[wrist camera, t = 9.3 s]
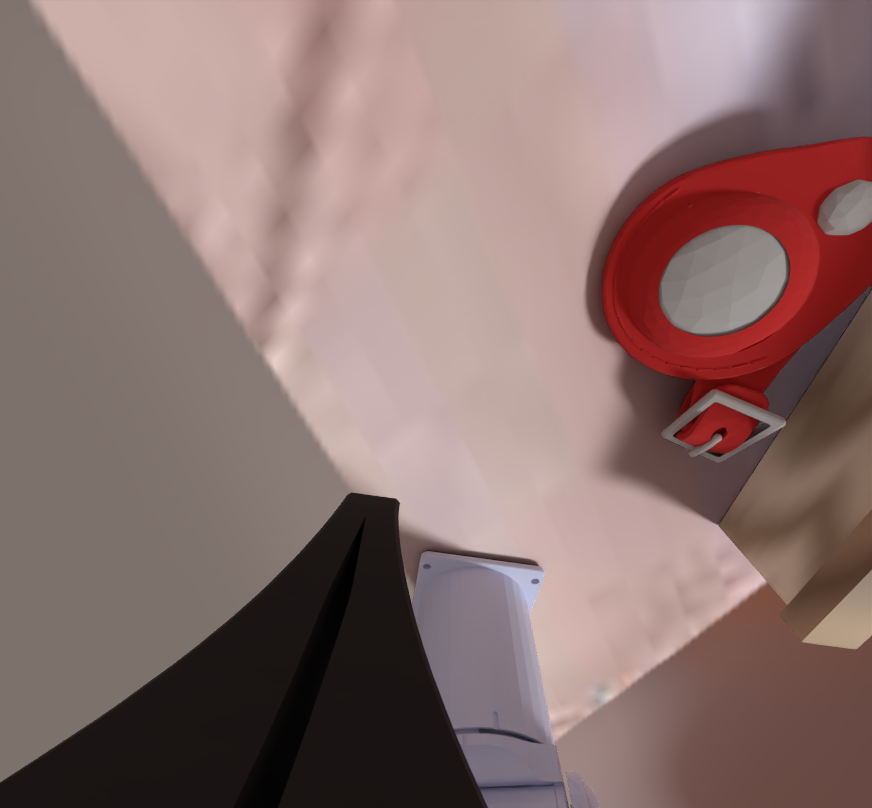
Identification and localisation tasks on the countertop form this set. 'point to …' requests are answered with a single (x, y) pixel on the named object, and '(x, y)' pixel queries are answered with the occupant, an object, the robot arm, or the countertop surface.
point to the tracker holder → (740, 279)
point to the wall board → (818, 500)
